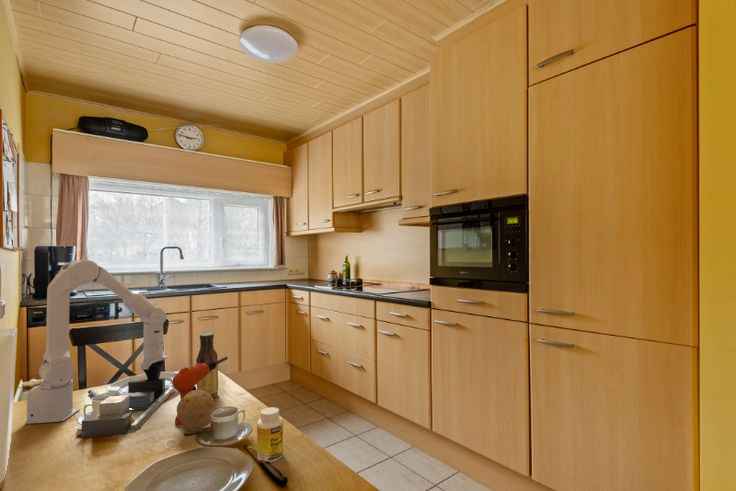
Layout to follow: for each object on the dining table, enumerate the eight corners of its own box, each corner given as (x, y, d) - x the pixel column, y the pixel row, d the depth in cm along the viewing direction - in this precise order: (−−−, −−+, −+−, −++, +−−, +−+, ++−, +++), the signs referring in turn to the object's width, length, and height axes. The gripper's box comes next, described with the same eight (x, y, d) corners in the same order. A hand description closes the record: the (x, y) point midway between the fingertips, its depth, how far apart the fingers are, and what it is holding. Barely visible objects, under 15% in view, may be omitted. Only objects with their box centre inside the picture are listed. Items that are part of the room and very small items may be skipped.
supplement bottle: (271, 466, 81) (270, 417, 81) (251, 460, 84) (251, 412, 84) (288, 454, 86) (288, 408, 86) (269, 448, 89) (269, 403, 89)
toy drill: (237, 396, 117) (232, 349, 115) (183, 430, 100) (177, 375, 99) (225, 394, 119) (220, 347, 117) (171, 427, 102) (164, 372, 101)
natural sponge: (185, 422, 103) (184, 385, 103) (219, 420, 104) (219, 383, 104) (171, 439, 94) (171, 397, 94) (209, 436, 95) (208, 396, 95)
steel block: (99, 431, 98) (99, 403, 99) (109, 422, 103) (109, 396, 104) (120, 429, 99) (120, 402, 99) (129, 421, 104) (129, 395, 104)
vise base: (73, 438, 95) (73, 421, 95) (128, 394, 124) (128, 381, 124) (133, 433, 97) (133, 417, 97) (173, 391, 126) (173, 379, 126)
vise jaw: (112, 411, 110) (112, 394, 110) (131, 396, 122) (131, 380, 122) (149, 409, 111) (149, 391, 111) (165, 394, 123) (165, 378, 123)
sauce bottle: (202, 393, 124) (202, 331, 125) (221, 393, 124) (221, 331, 124) (192, 400, 118) (192, 335, 118) (212, 400, 118) (212, 335, 118)
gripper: (158, 348, 120) (158, 392, 120) (173, 338, 135) (174, 377, 135) (133, 349, 119) (133, 393, 119) (152, 339, 134) (152, 378, 133)
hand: (153, 385), depth 127 cm, fingers closed
